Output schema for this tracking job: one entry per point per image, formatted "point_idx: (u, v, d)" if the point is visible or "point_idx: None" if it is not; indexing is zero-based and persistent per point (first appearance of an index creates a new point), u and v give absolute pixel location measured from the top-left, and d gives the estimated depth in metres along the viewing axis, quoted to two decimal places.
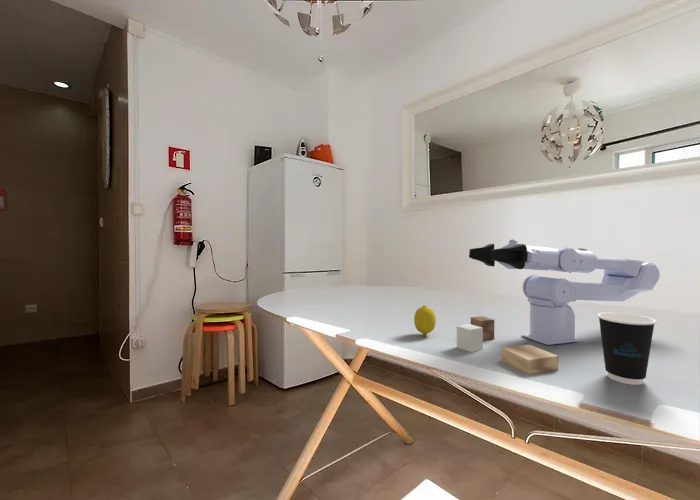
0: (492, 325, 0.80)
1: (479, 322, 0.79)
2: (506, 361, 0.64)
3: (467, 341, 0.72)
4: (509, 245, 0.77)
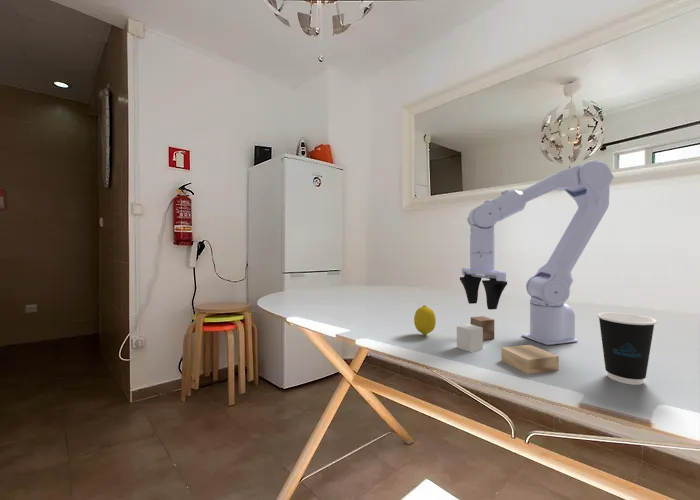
0: (492, 325, 0.80)
1: (479, 322, 0.79)
2: (506, 361, 0.65)
3: (467, 341, 0.72)
4: None
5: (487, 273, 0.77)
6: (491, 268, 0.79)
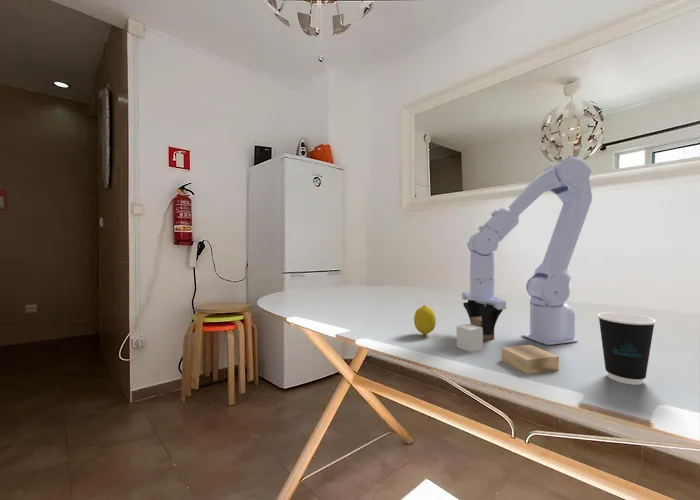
0: None
1: (479, 322, 0.79)
2: (506, 361, 0.65)
3: (467, 341, 0.72)
4: None
5: (487, 301, 0.77)
6: (491, 295, 0.79)
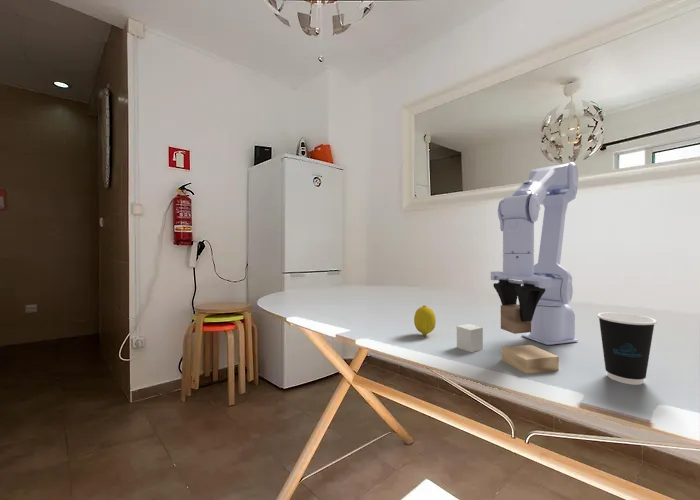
0: None
1: (512, 311, 0.64)
2: (506, 360, 0.65)
3: (467, 341, 0.72)
4: None
5: (527, 278, 0.62)
6: (531, 272, 0.64)
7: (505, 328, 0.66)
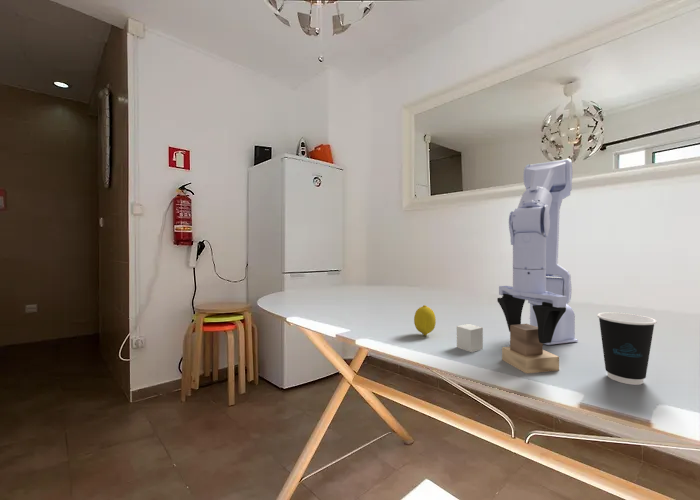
0: None
1: (523, 332, 0.61)
2: (506, 361, 0.65)
3: (467, 341, 0.72)
4: None
5: (539, 296, 0.58)
6: (543, 289, 0.60)
7: (515, 349, 0.63)
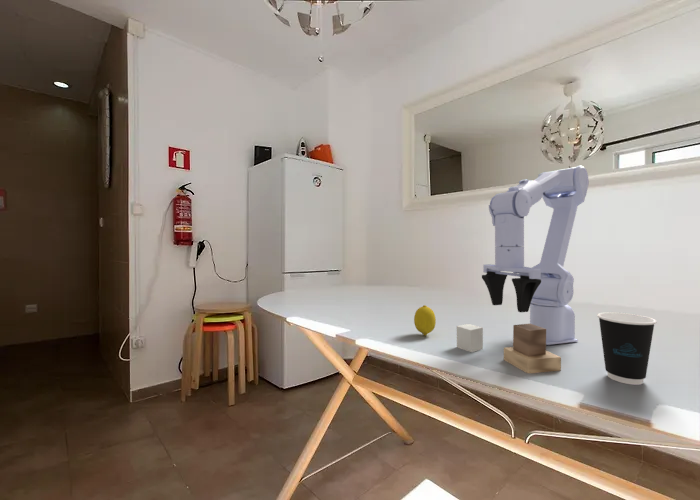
0: (543, 336, 0.62)
1: (527, 332, 0.61)
2: (508, 361, 0.65)
3: (467, 341, 0.72)
4: None
5: (518, 270, 0.66)
6: (521, 264, 0.68)
7: (518, 349, 0.63)
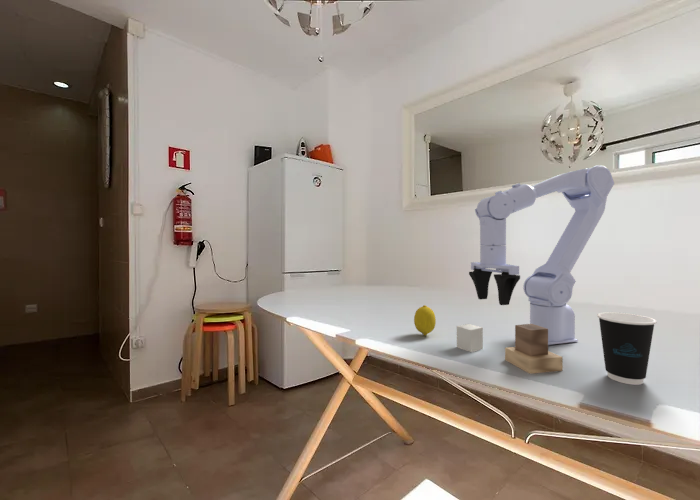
0: (545, 336, 0.62)
1: (528, 332, 0.61)
2: (509, 361, 0.65)
3: (467, 341, 0.72)
4: (482, 267, 0.77)
5: (499, 267, 0.73)
6: (503, 262, 0.75)
7: (520, 349, 0.63)
